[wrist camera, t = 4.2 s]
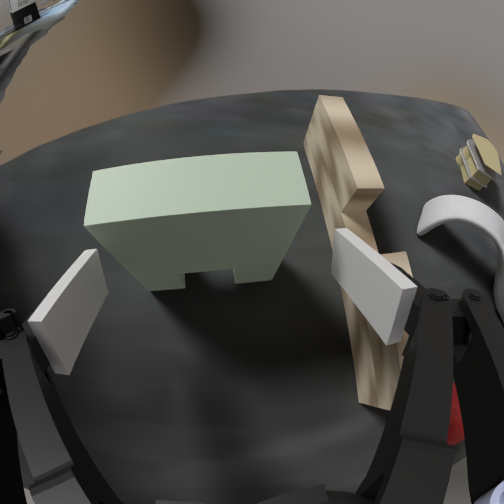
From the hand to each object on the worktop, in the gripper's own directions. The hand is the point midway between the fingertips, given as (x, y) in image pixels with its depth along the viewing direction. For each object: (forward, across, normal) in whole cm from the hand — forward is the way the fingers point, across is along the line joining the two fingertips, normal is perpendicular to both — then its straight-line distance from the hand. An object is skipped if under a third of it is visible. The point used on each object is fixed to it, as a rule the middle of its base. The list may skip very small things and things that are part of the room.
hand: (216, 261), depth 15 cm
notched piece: (+7, -1, -4) cm, 8 cm away
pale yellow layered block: (+16, +37, +3) cm, 40 cm away
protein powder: (+86, -79, +75) cm, 139 cm away
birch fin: (+7, +11, -4) cm, 14 cm away
